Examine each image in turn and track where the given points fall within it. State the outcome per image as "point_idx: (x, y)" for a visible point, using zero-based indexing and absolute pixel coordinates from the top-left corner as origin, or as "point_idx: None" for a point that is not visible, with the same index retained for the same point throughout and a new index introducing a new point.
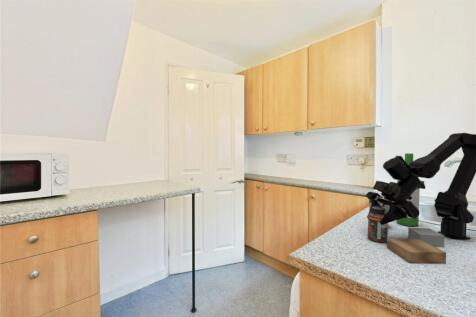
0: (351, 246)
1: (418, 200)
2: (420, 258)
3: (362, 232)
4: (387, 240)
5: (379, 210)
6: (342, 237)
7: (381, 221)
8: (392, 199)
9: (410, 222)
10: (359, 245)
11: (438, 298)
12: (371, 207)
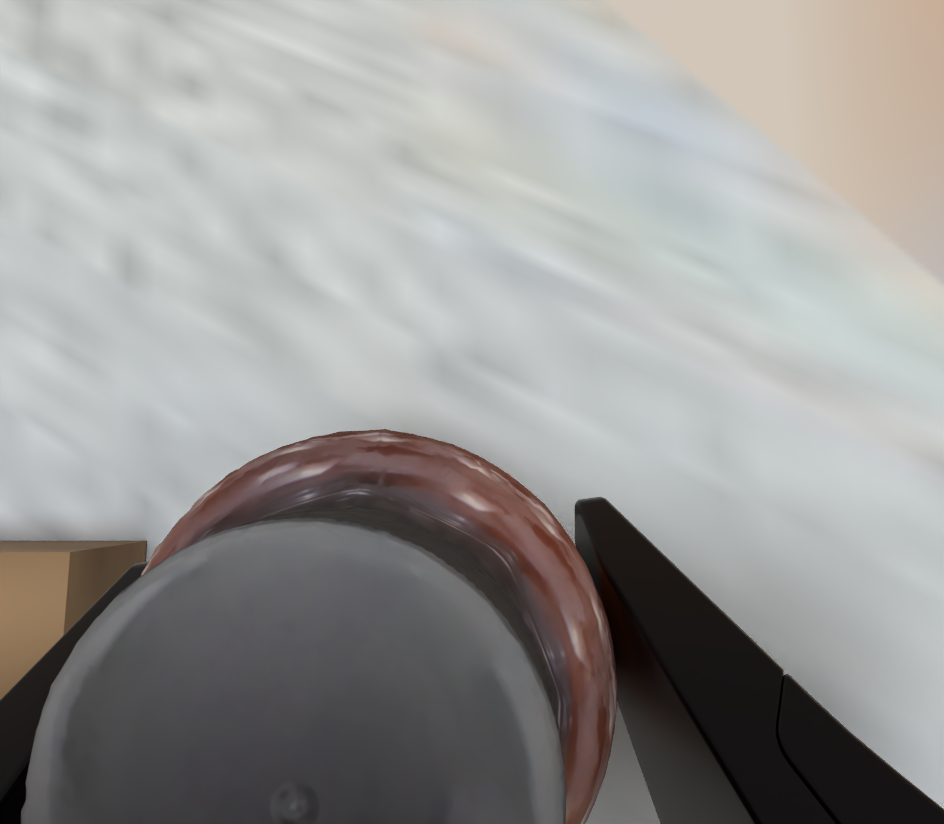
0: (211, 138)
1: None
2: None
3: (714, 524)
4: (76, 549)
5: (72, 682)
6: (499, 154)
7: (108, 591)
8: None
9: None
10: (237, 243)
11: None
12: (803, 747)
